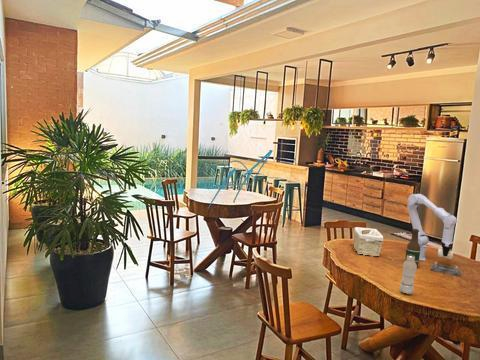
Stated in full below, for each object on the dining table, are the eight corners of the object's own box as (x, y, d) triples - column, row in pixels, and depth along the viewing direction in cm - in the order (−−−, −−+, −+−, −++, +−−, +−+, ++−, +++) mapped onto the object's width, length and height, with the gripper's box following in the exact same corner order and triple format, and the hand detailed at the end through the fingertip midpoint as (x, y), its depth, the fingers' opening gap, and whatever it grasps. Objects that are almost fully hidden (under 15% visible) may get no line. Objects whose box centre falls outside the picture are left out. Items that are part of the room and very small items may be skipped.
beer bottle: (417, 265, 233) (422, 229, 230) (418, 269, 226) (423, 231, 223) (404, 263, 236) (409, 227, 233) (404, 266, 229) (409, 229, 226)
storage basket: (351, 245, 269) (353, 226, 267) (374, 248, 266) (376, 228, 265) (356, 255, 245) (359, 234, 244) (381, 258, 243) (384, 237, 241)
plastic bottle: (396, 290, 190) (401, 253, 188) (409, 290, 191) (413, 253, 189) (403, 295, 184) (408, 257, 182) (415, 296, 185) (420, 258, 182)
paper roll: (437, 256, 234) (438, 249, 234) (437, 255, 239) (438, 247, 238) (452, 259, 230) (453, 252, 230) (452, 257, 235) (453, 250, 234)
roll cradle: (430, 270, 225) (431, 264, 225) (431, 265, 234) (431, 259, 234) (460, 276, 218) (461, 270, 217) (460, 271, 227) (460, 265, 226)
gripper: (455, 238, 224) (452, 259, 226) (454, 233, 237) (451, 253, 239) (442, 235, 228) (439, 256, 229) (442, 231, 240) (439, 251, 242)
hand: (445, 254), depth 234 cm, fingers closed on paper roll, 5 cm apart
